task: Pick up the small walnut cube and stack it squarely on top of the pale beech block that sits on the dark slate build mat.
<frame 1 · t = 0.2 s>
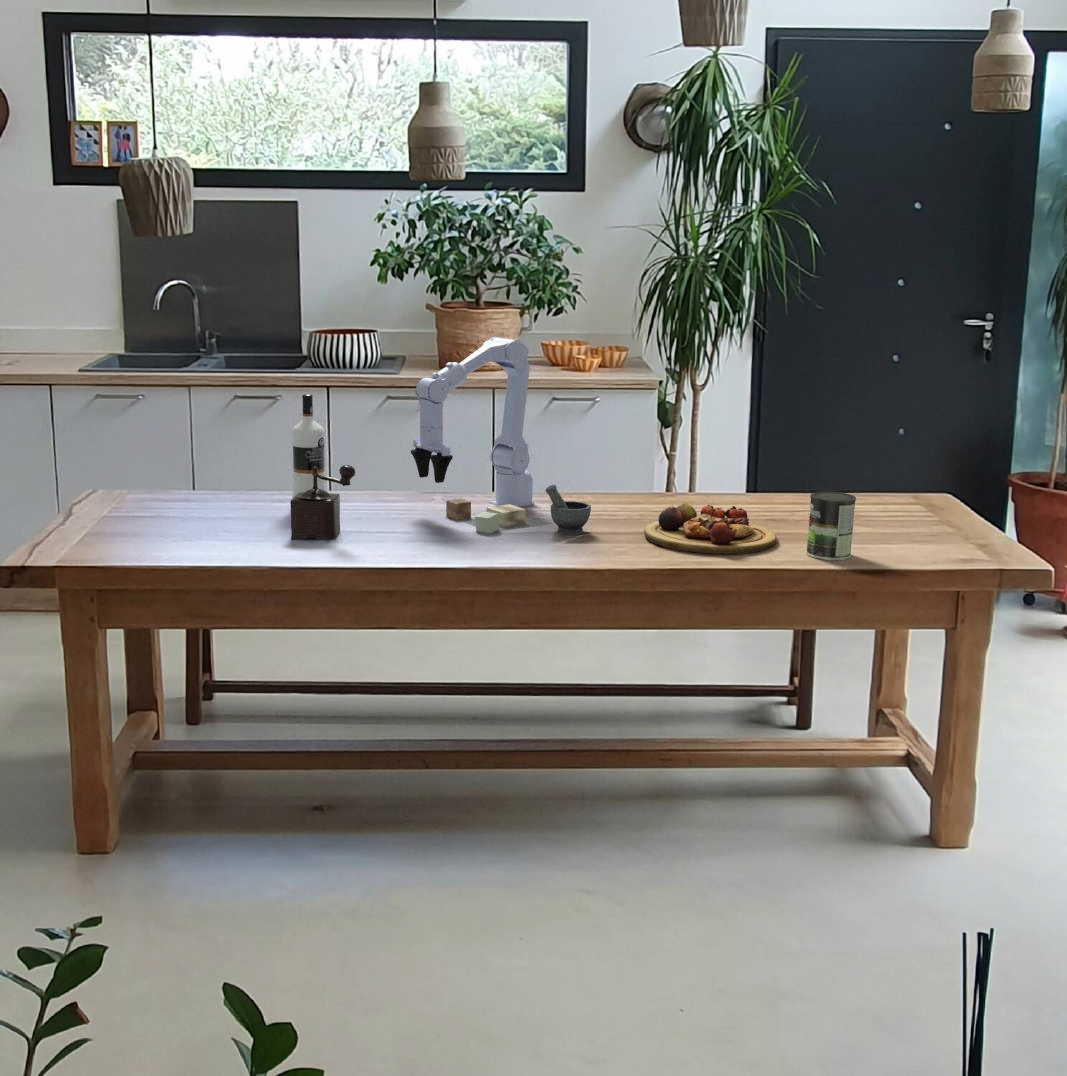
hand: (431, 479, 339), 10 cm above the table, tool pointing down, fingers open, 7 cm apart
manual coffee grinder: (326, 536, 321), on the table
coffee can: (828, 556, 313), on the table
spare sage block: (487, 530, 328), on the table, tilted 7°, touching slate mat
walnut cube: (458, 518, 342), on the table
wooden plate with food: (709, 541, 326), on the table
mortar and pestle: (567, 533, 329), on the table
vodka: (309, 511, 346), on the table
beech block: (506, 522, 337), resting on slate mat
slate mat: (506, 523, 337), on the table
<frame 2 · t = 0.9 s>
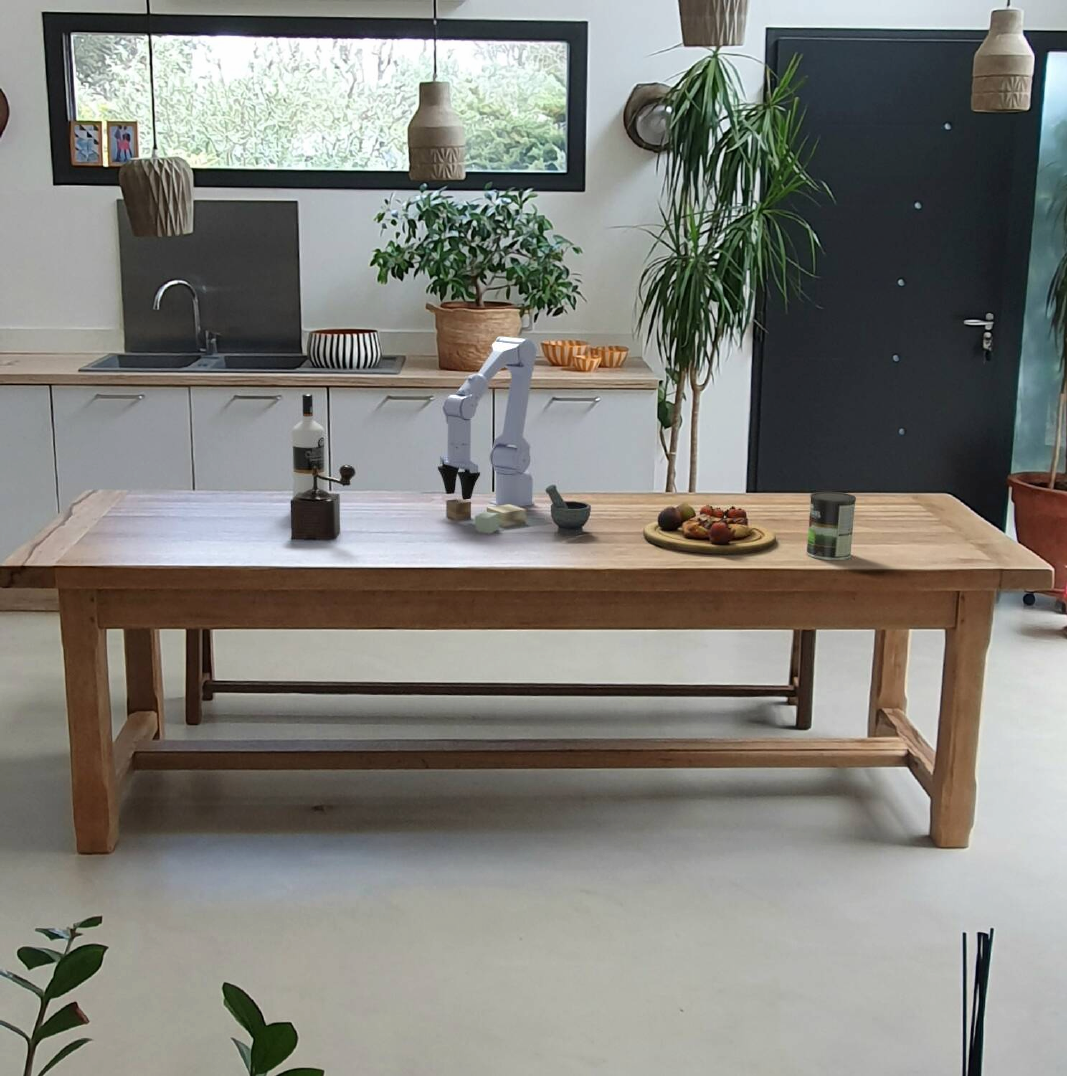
hand: (458, 496, 340), 6 cm above the table, tool pointing down, fingers open, 7 cm apart
nothing on the table moved.
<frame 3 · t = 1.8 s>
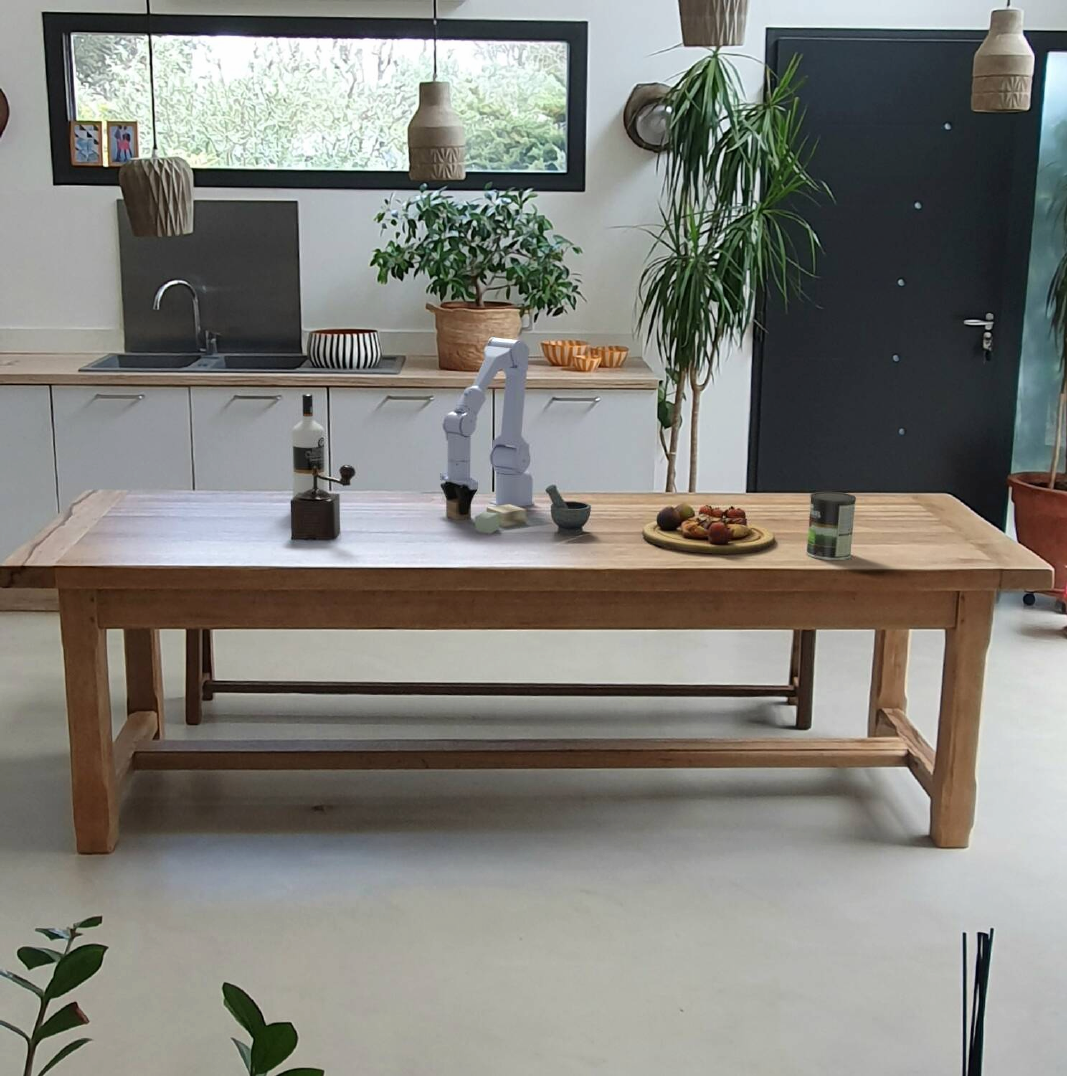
hand: (458, 512, 341), 1 cm above the table, tool pointing down, fingers closed on walnut cube, 4 cm apart
walnut cube: (458, 518, 342), on the table, touching gripper
everything else where it was.
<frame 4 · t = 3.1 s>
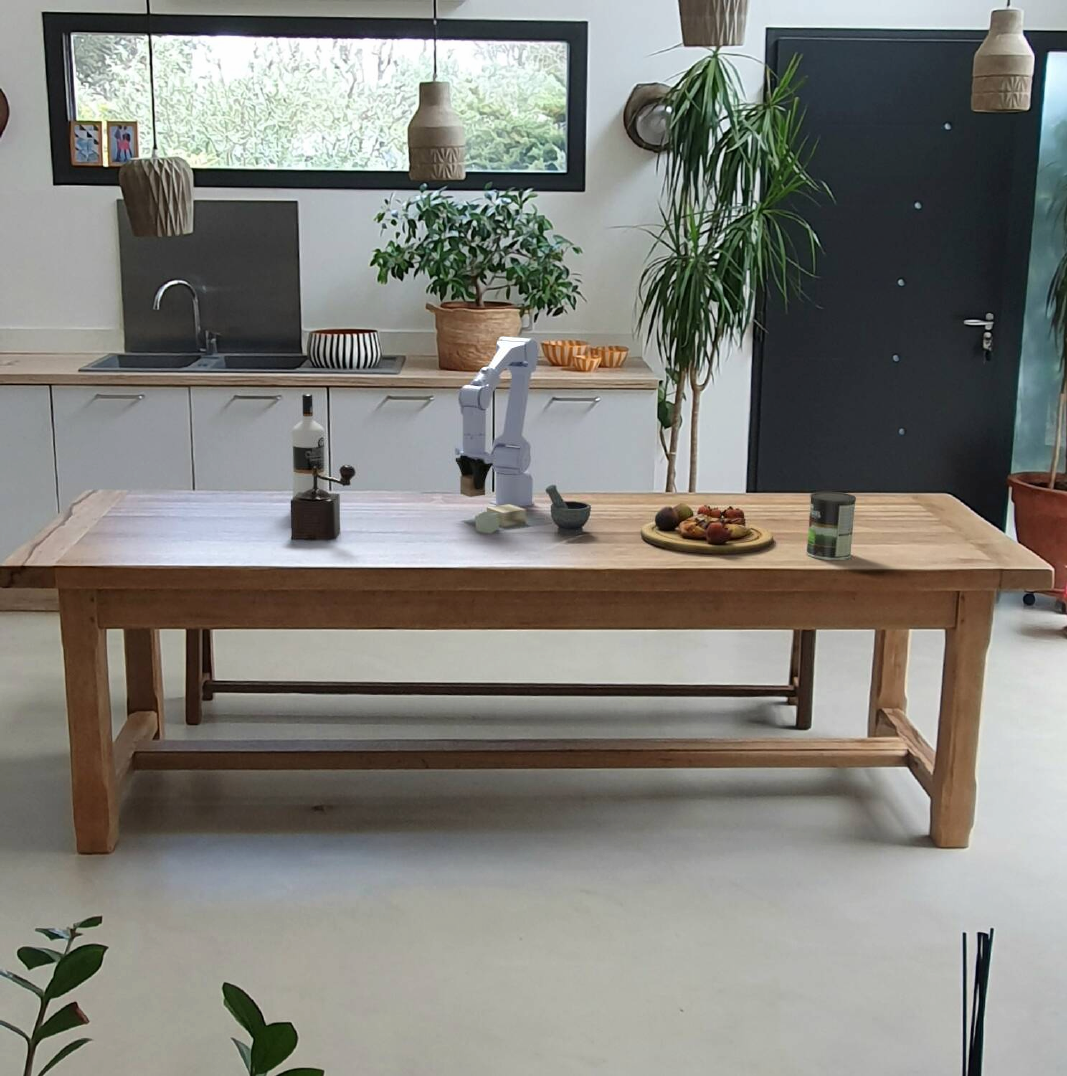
hand: (473, 487, 338), 8 cm above the table, tool pointing down, fingers closed on walnut cube, 4 cm apart
walnut cube: (472, 494, 339), point 7 cm above the table, touching gripper
when the fingers open (6 cm above the table, at t = 4.4 s): walnut cube stays where it is, resting on beech block.
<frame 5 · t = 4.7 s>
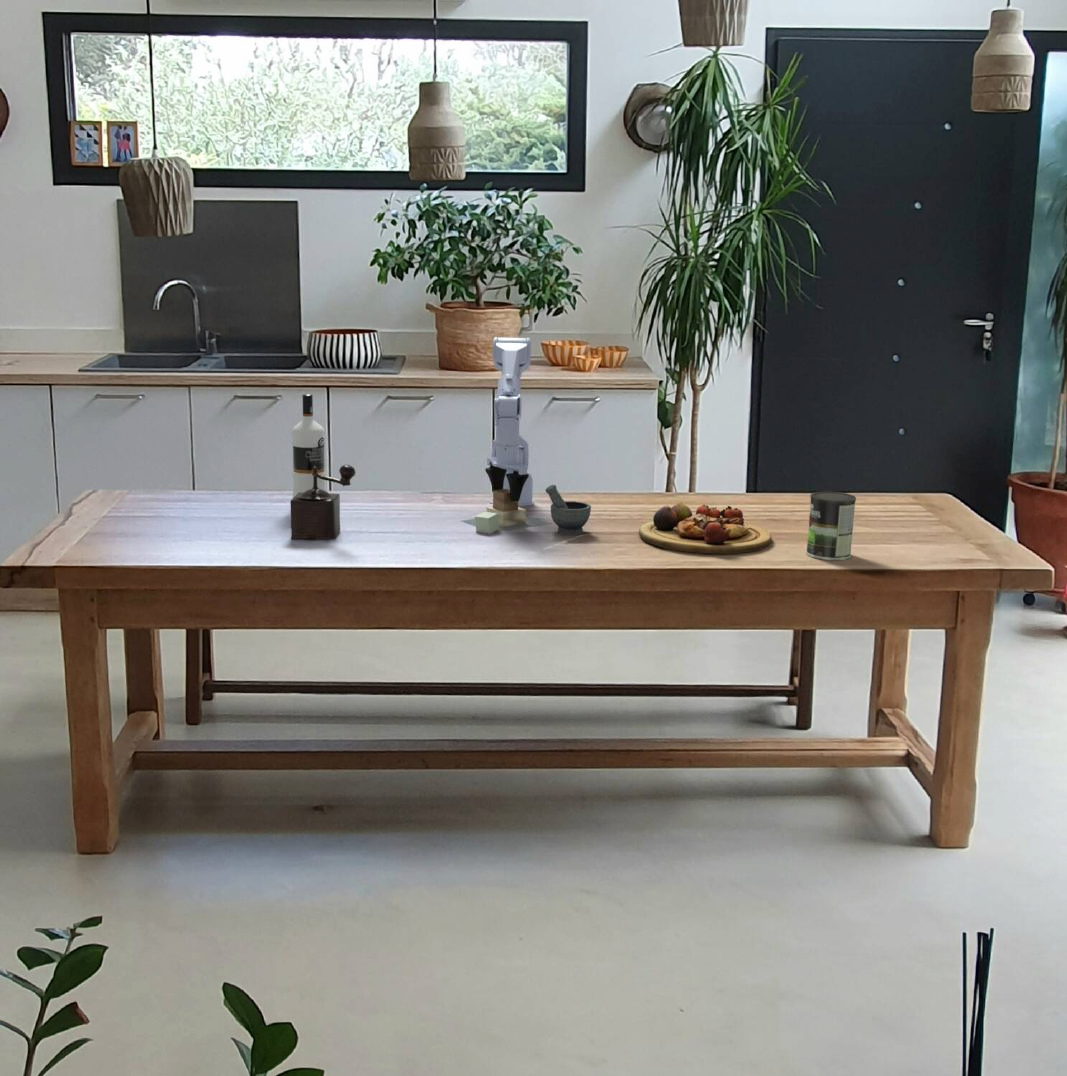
hand: (506, 498, 336), 6 cm above the table, tool pointing down, fingers open, 7 cm apart
walnut cube: (505, 508, 336), point 4 cm above the table, touching beech block
beech block: (506, 522, 337), resting on slate mat, touching walnut cube
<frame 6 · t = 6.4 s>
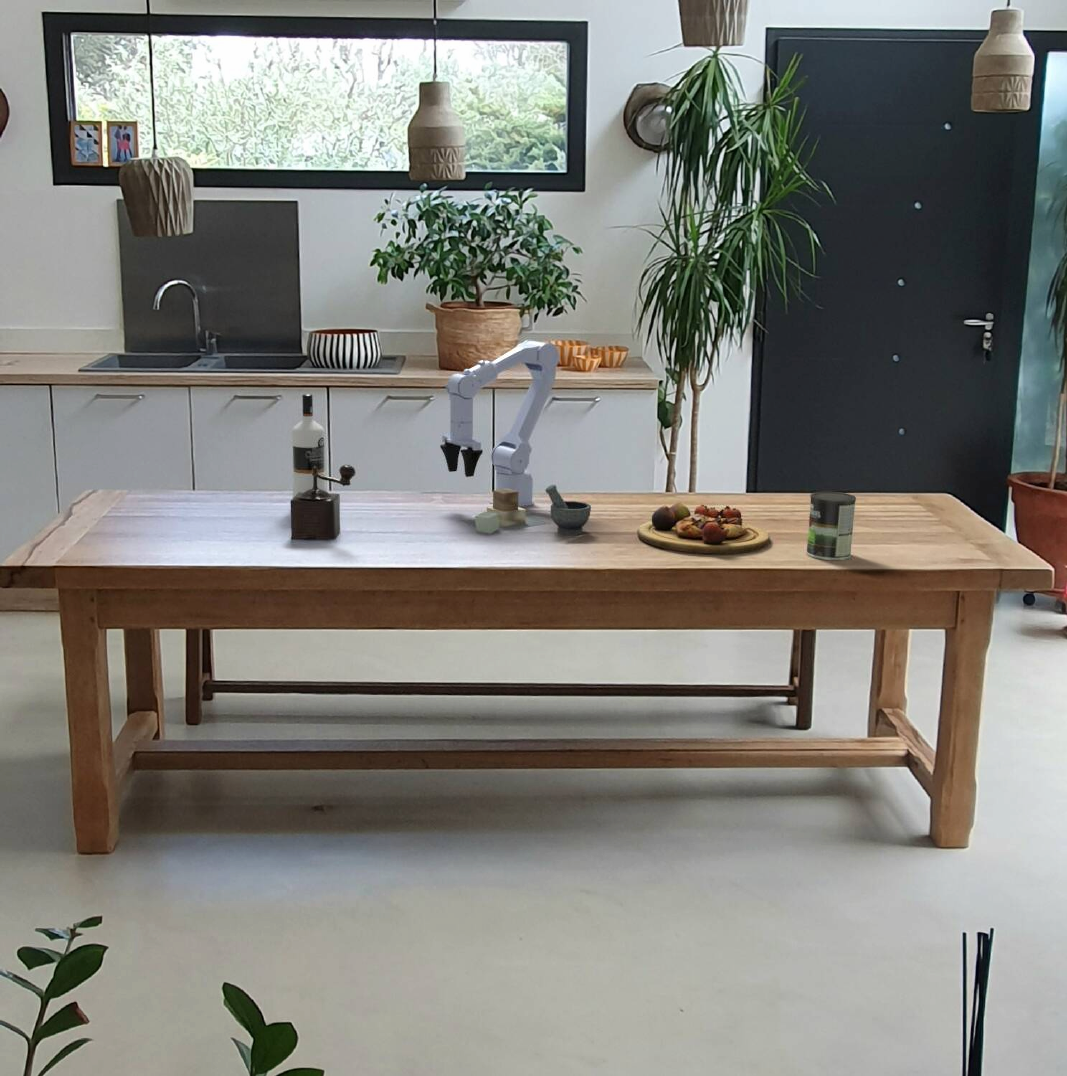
hand: (461, 473, 346), 10 cm above the table, tool pointing down, fingers open, 7 cm apart
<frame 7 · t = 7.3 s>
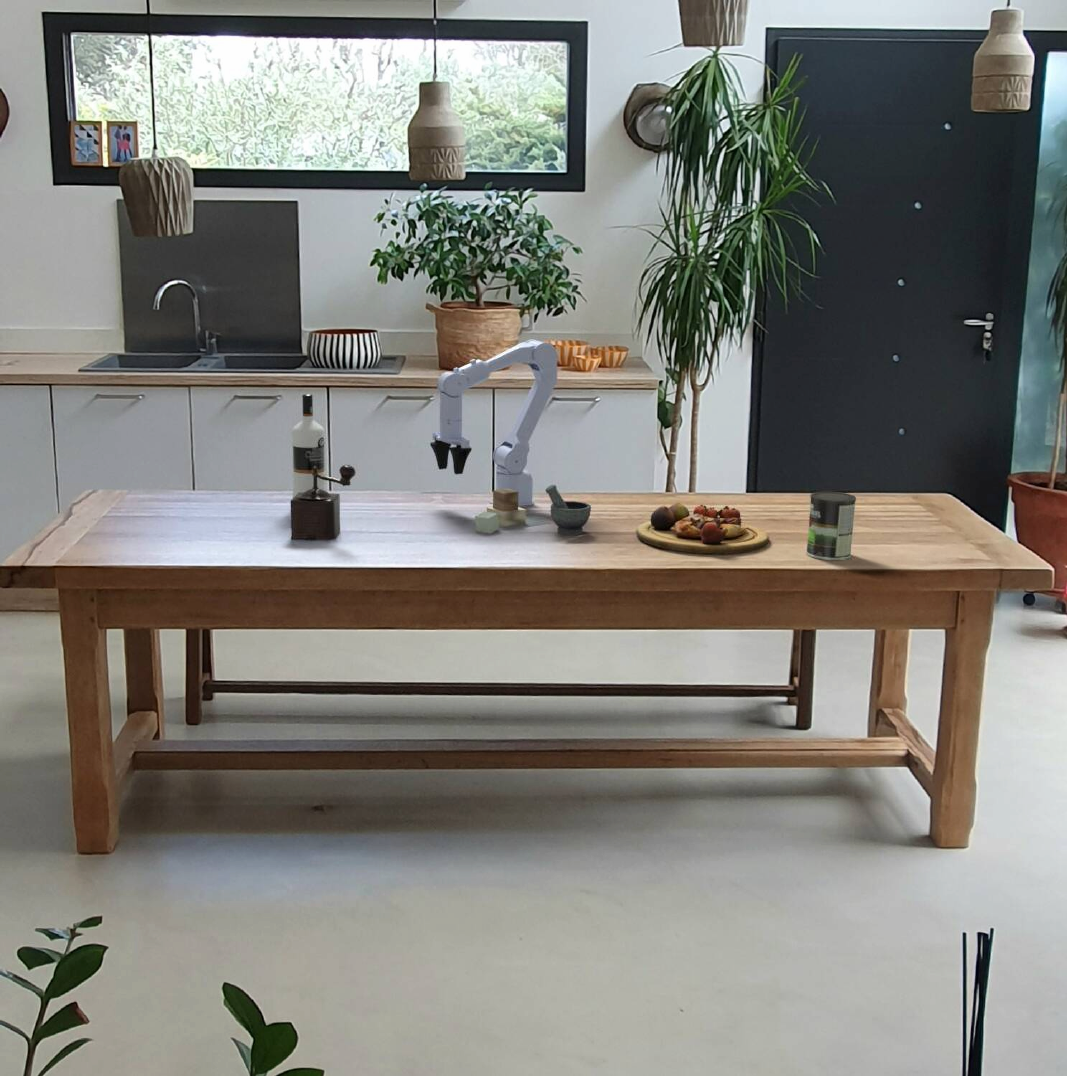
hand: (450, 471, 349), 10 cm above the table, tool pointing down, fingers open, 7 cm apart
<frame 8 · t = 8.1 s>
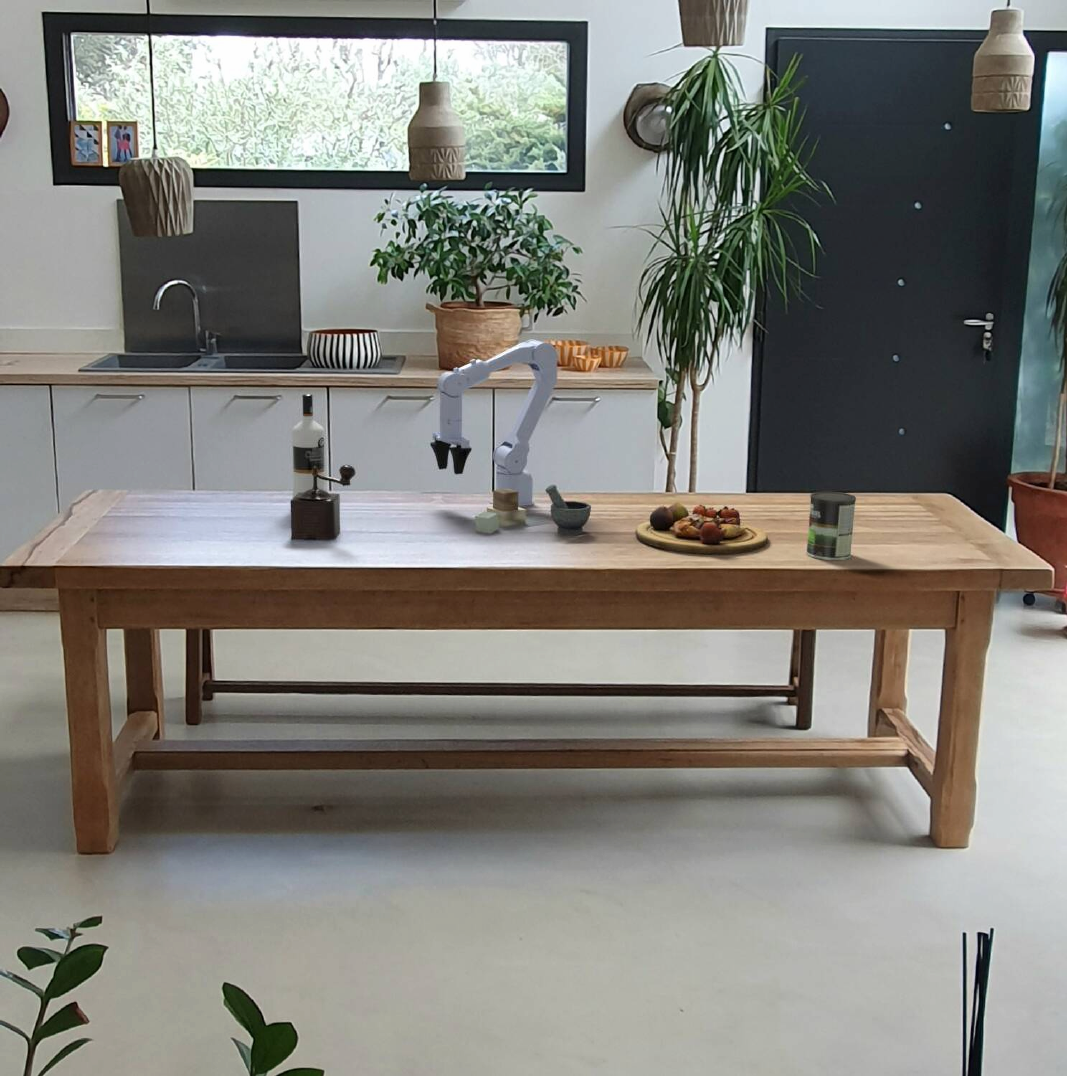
hand: (450, 471, 349), 10 cm above the table, tool pointing down, fingers open, 7 cm apart
at the end: walnut cube 0.3 cm off-centre on the beech block, point 3.5 cm above the beech block's base; walnut cube tilted 0°; beech block moved 0.0 cm from its start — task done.
